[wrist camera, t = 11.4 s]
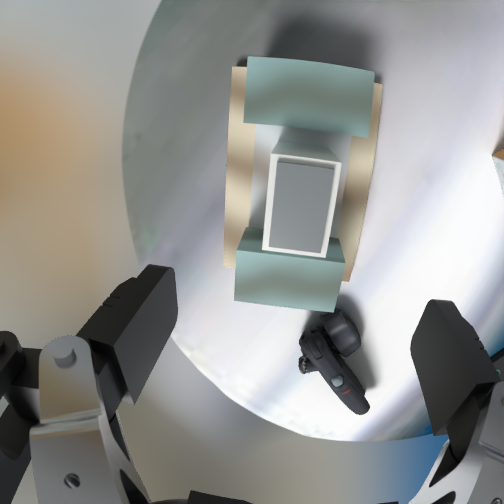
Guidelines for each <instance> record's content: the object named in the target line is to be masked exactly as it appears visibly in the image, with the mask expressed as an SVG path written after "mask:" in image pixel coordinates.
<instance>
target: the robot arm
mask: <svg viewBox="0 0 504 504" xmlns="http://www.w3.org/2000/svg"><path fill="white" fill-rule="evenodd" d="M177 315H178V305H177V294H176V282H175V272H174V269H173V268H171V267H165V266H158V265H152V264H149V265H147V266H146V268H145V269H144V270H143V271H142V272H141V273H140V275H139V276H138V277H137V278H133V277H132V278H130V279H128V280H127V281H125V282H123V283H121V284H120V285H118V286H117V287H116V289H115V290H114V291H113V292H112V293H111V294H110V297H108V298H107V299H106V300H105V301H104V302H103V305H102V306H100V307H99V308H98V309H97V311H96V312H95V313H94V314H93V315H92V316H91V318H90V319H89V320H88V321H87V323H86V324H85V325H84V326H83V327H82V328H81V330H80V331H79V332H78V333H77V335H76V336H72V335H70V336H69V335H67V336H61V337H58V338H56V339H54V340H52V341H50V342H49V343H48V344H47V345H46V346H45V347H44V348H43V349H33V348H22V347H21V345H20V343H19V341H18V339H17V337H16V336H15V335H14V334H13V333H12V332H9V331H0V399H1V398H2V396H4V397H5V399H6V400H7V402H8V403H9V405H8V406H7V408H6V409H5V411H4V412H3V414H2V416H1V417H0V504H11V502H12V500H13V497H14V495H15V493H16V491H17V488H18V486H19V484H20V482H21V480H22V477H23V475H24V473H25V471H26V469H27V467H28V465H29V463H30V460H31V459H32V467H33V474H34V480H35V486H36V491H37V497H38V502H39V504H252V503H249V502H247V501H244V500H237V499H231V498H226V497H220V496H215V495H210V494H205V493H201V492H196V491H192V490H191V491H190V494H189V498H188V499H170V500H163V501H156V502H151V499H150V497H149V495H148V493H147V490H146V488H145V486H144V484H143V482H142V480H141V478H140V476H139V474H138V472H137V470H136V468H135V465H134V462H133V460H132V457H131V454H130V451H129V448H128V445H127V442H126V439H125V436H124V433H123V429H122V426H121V422H120V419H119V415H118V412H117V408H118V406H119V404H120V402H121V401H124V402H126V403H129V404H132V405H135V403H136V401H137V399H138V397H139V395H140V393H141V391H142V389H143V387H144V385H145V383H146V381H147V379H148V377H149V375H150V373H151V371H152V369H153V367H154V366H155V364H156V362H157V360H158V358H159V356H160V354H161V352H162V350H163V348H164V346H165V344H166V342H167V340H168V338H169V337H170V335H171V333H172V331H173V329H174V327H175V324H176V321H177ZM410 350H411V356H412V359H413V362H414V366H415V369H416V372H417V375H418V379H419V382H420V385H421V389H422V392H423V396H424V399H425V403H426V407H427V411H428V414H429V418H430V422H431V426H432V431H433V435H434V436H437V435H445V434H448V436H449V440H448V441H447V442H446V443H445V444H444V446H443V448H442V450H441V452H440V454H439V456H438V458H437V460H436V462H435V464H434V466H433V468H432V470H431V472H430V474H429V476H428V477H427V479H426V481H425V483H424V484H423V486H422V488H421V490H420V491H419V493H418V494H417V495H416V496H415V497H414V498H413V499H412V500H411V501H410V502H409V503H408V504H504V381H501V379H500V377H499V375H498V373H497V371H496V369H495V367H494V365H493V363H492V361H491V359H490V357H489V355H488V353H487V351H486V350H484V346H483V344H482V342H481V341H479V337H478V335H477V333H476V332H475V330H474V328H473V327H472V326H471V325H470V324H469V323H468V322H467V321H466V320H465V319H464V318H463V317H462V316H461V314H460V312H459V311H458V309H457V307H456V306H455V304H454V303H453V302H452V301H447V300H435V299H432V300H430V301H429V302H428V303H427V305H426V308H425V310H424V312H423V315H422V317H421V319H420V321H419V324H418V326H417V328H416V330H415V332H414V335H413V337H412V340H411V347H410ZM380 504H398V502H389V503H380Z"/></svg>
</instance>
